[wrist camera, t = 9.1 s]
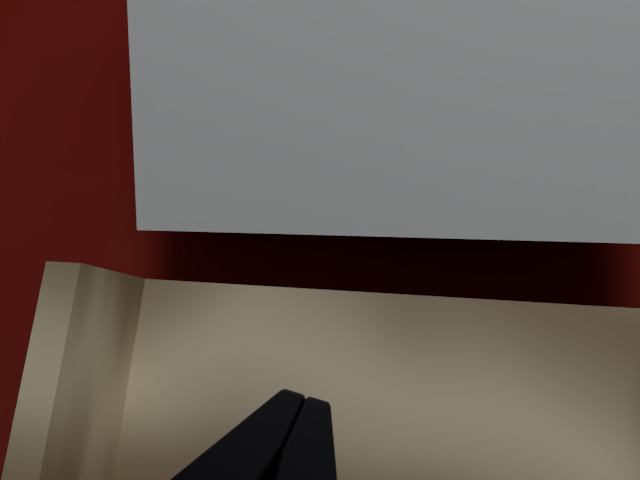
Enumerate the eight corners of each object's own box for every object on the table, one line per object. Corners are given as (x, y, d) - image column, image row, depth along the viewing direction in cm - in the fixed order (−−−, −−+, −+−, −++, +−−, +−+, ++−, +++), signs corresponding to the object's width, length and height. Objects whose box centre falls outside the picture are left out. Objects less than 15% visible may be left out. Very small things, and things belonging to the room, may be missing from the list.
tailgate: (690, 245, 11) (741, -394, 10) (136, 230, 16) (117, -219, 14) (661, 237, 13) (701, -308, 12) (169, 225, 17) (155, -175, 16)
